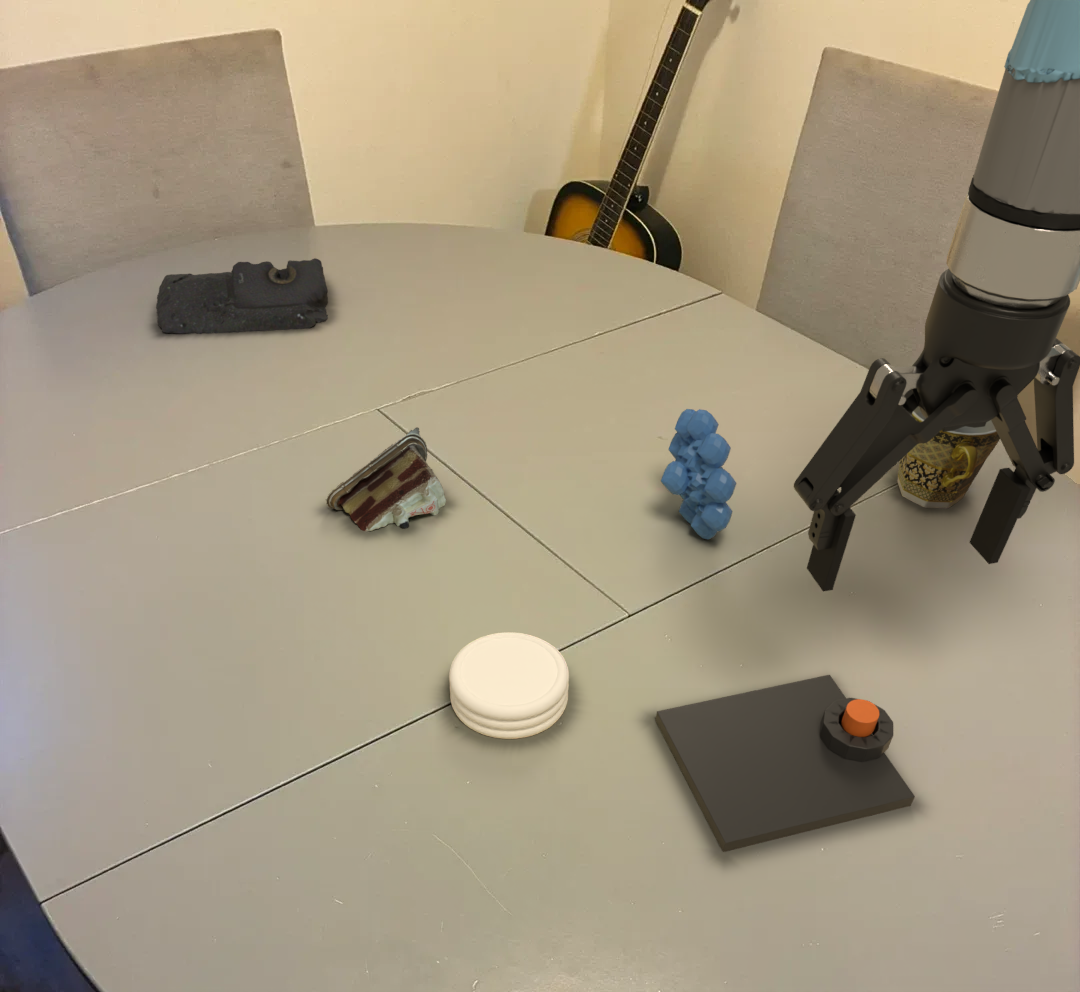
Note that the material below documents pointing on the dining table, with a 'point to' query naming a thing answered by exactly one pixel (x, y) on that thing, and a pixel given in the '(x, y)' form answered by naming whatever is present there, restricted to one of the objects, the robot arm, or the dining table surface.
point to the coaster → (509, 685)
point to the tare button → (860, 718)
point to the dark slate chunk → (244, 299)
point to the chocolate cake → (391, 487)
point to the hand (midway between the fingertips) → (902, 566)
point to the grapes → (700, 473)
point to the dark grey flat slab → (781, 762)
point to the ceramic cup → (945, 464)
